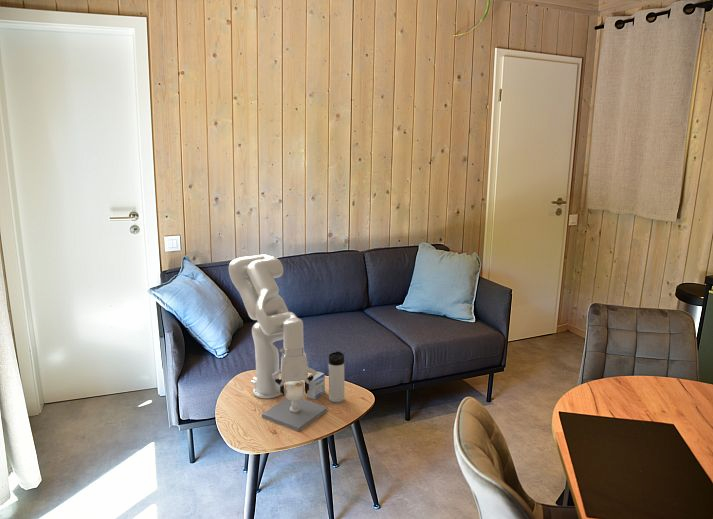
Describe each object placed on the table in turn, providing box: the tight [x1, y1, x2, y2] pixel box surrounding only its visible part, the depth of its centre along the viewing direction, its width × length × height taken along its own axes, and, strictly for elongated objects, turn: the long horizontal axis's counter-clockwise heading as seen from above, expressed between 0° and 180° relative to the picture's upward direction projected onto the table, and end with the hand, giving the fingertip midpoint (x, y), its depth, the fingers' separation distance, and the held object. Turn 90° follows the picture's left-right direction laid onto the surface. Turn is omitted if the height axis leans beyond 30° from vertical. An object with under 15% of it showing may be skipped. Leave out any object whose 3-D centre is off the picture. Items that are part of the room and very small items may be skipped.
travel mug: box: [328, 350, 345, 405], centre depth 219 cm, size 6×7×20 cm
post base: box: [261, 398, 329, 432], centre depth 210 cm, size 18×18×7 cm
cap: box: [284, 380, 305, 401], centre depth 208 cm, size 7×7×6 cm
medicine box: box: [305, 370, 326, 400], centre depth 225 cm, size 8×4×9 cm, turn 150°
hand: (294, 393), depth 208 cm, fingers open, 8 cm apart
